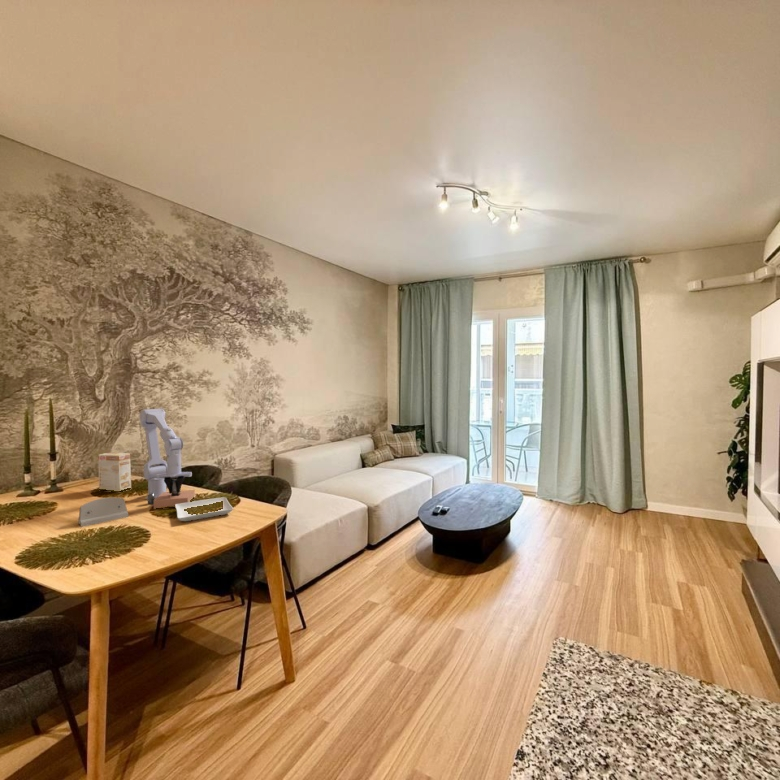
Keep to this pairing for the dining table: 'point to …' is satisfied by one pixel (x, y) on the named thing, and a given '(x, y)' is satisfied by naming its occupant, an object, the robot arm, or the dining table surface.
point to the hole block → (173, 498)
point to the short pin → (150, 498)
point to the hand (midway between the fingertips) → (174, 492)
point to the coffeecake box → (114, 471)
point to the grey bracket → (102, 511)
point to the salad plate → (185, 516)
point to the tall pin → (174, 487)
